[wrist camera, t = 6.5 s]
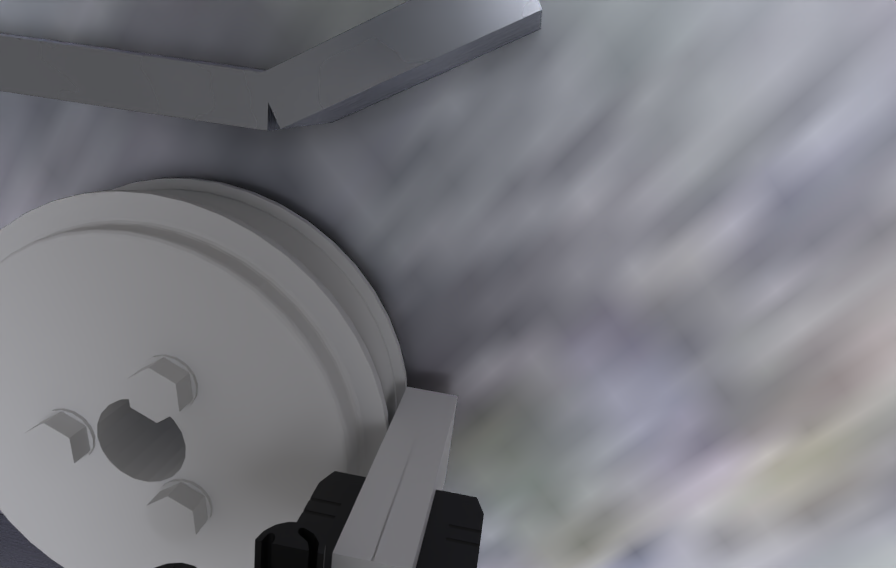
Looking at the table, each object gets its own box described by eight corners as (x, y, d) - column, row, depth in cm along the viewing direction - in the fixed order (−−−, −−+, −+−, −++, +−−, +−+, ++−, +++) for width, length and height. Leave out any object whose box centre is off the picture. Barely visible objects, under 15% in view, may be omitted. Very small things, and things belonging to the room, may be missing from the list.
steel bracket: (-198, -107, 16) (-382, -158, 13) (548, -17, 15) (551, -51, 11) (-71, 579, 24) (-167, 655, 21) (429, 696, 22) (410, 801, 19)
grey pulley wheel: (414, 181, 17) (367, 214, 12) (414, 549, 21) (378, 684, 16) (10, 166, 18) (-173, 190, 14) (80, 509, 22) (-44, 622, 17)
